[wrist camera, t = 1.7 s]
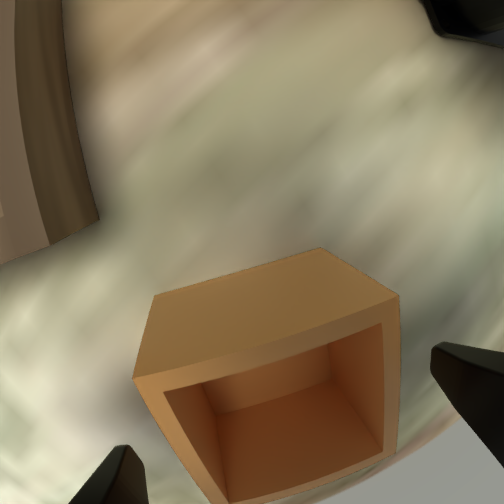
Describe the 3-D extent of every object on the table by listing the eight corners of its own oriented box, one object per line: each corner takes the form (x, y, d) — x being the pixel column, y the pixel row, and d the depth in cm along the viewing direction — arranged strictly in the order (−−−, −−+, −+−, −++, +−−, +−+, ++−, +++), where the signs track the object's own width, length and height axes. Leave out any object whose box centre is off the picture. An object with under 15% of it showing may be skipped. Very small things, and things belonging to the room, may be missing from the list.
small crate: (319, 246, 11) (398, 295, 7) (339, 376, 13) (395, 452, 8) (154, 294, 11) (131, 378, 6) (206, 418, 12) (218, 513, 8)
